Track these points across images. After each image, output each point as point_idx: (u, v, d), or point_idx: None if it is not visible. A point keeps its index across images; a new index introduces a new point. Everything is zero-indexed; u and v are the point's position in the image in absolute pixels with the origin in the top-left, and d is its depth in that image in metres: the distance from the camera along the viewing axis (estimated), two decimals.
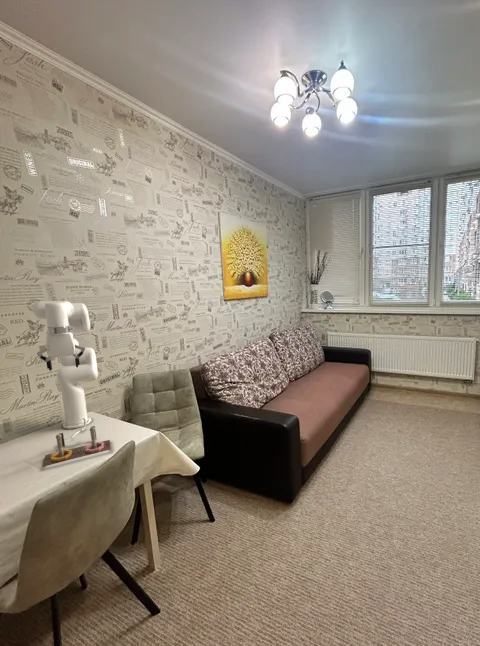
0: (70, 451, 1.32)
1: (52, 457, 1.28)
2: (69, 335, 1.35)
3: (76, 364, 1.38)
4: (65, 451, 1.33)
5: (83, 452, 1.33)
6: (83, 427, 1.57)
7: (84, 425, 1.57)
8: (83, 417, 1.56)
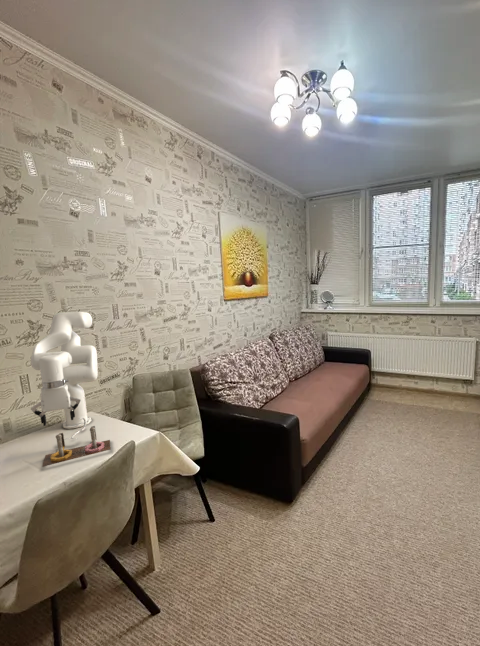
0: (70, 451, 1.32)
1: (52, 457, 1.28)
2: (64, 388, 1.32)
3: (71, 417, 1.35)
4: (65, 451, 1.33)
5: (83, 452, 1.33)
6: (83, 427, 1.57)
7: (84, 425, 1.57)
8: (83, 417, 1.56)
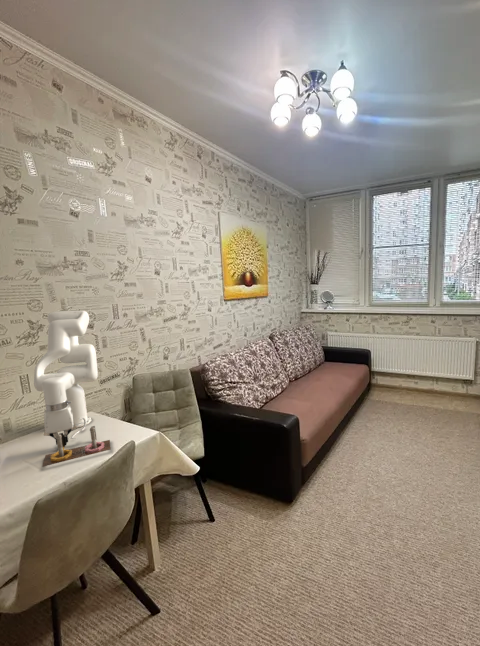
0: (70, 451, 1.32)
1: (52, 457, 1.28)
2: (67, 410, 1.34)
3: (64, 442, 1.35)
4: (65, 451, 1.33)
5: (83, 452, 1.33)
6: (83, 427, 1.57)
7: (84, 425, 1.57)
8: (83, 417, 1.56)
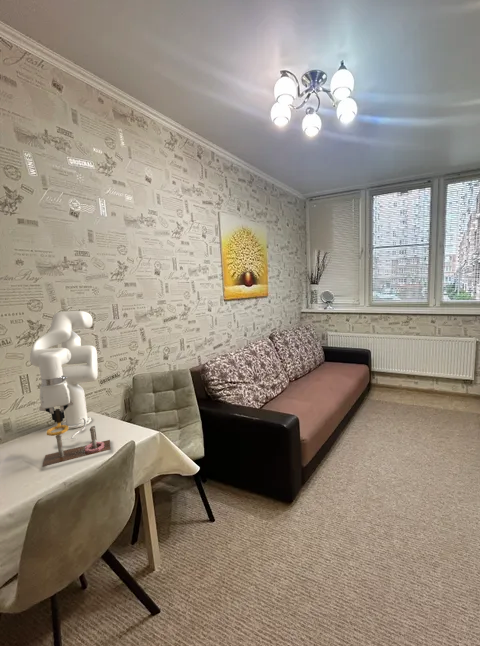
0: (66, 426, 1.31)
1: (48, 432, 1.26)
2: (63, 385, 1.32)
3: (61, 418, 1.34)
4: (61, 426, 1.31)
5: (83, 452, 1.33)
6: (83, 427, 1.57)
7: (84, 425, 1.57)
8: (83, 417, 1.56)
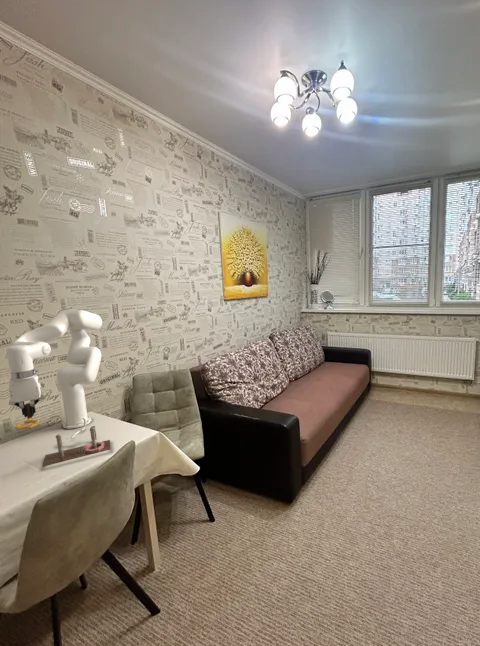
0: (36, 421, 1.28)
1: (16, 426, 1.23)
2: (34, 379, 1.29)
3: (31, 413, 1.31)
4: (31, 421, 1.29)
5: (83, 452, 1.33)
6: (83, 427, 1.57)
7: (84, 425, 1.57)
8: (83, 417, 1.56)
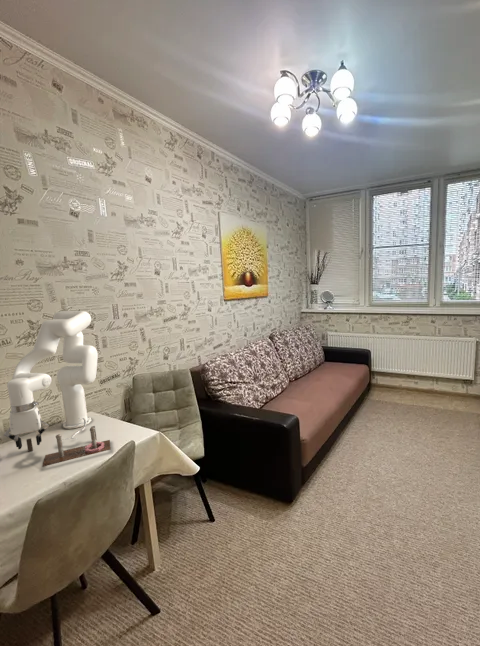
0: None
1: None
2: (34, 411, 1.32)
3: (37, 442, 1.34)
4: None
5: (83, 452, 1.33)
6: (83, 427, 1.57)
7: (84, 425, 1.57)
8: (83, 417, 1.56)
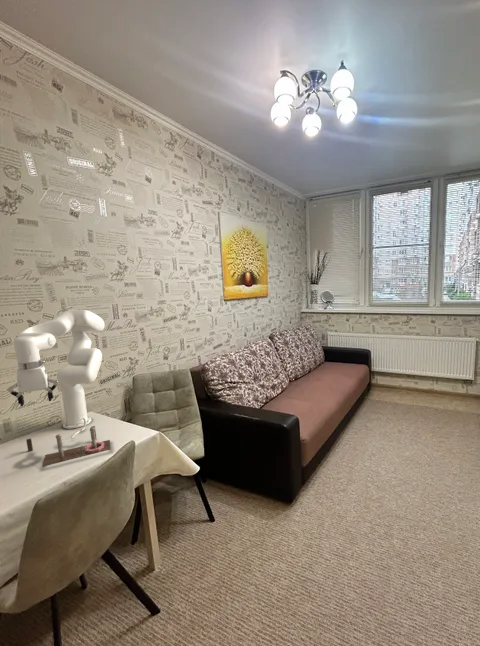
0: None
1: None
2: (40, 370, 1.32)
3: (49, 398, 1.35)
4: None
5: (83, 452, 1.33)
6: (83, 427, 1.57)
7: (84, 425, 1.57)
8: (83, 417, 1.56)
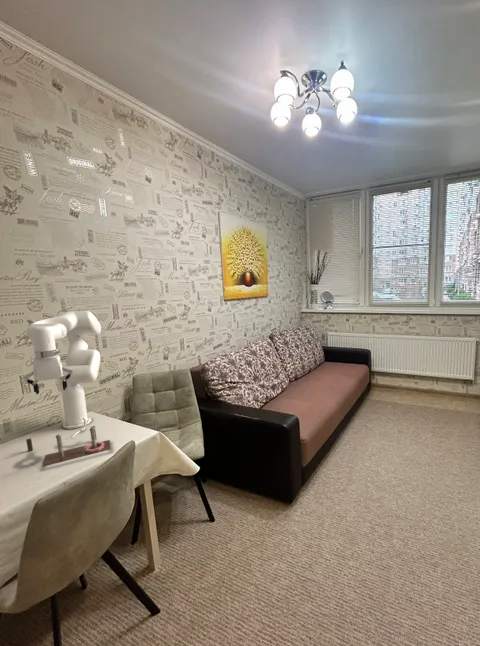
0: None
1: None
2: (56, 358, 1.35)
3: (63, 387, 1.38)
4: None
5: (83, 452, 1.33)
6: (83, 427, 1.57)
7: (84, 425, 1.57)
8: (83, 417, 1.56)
